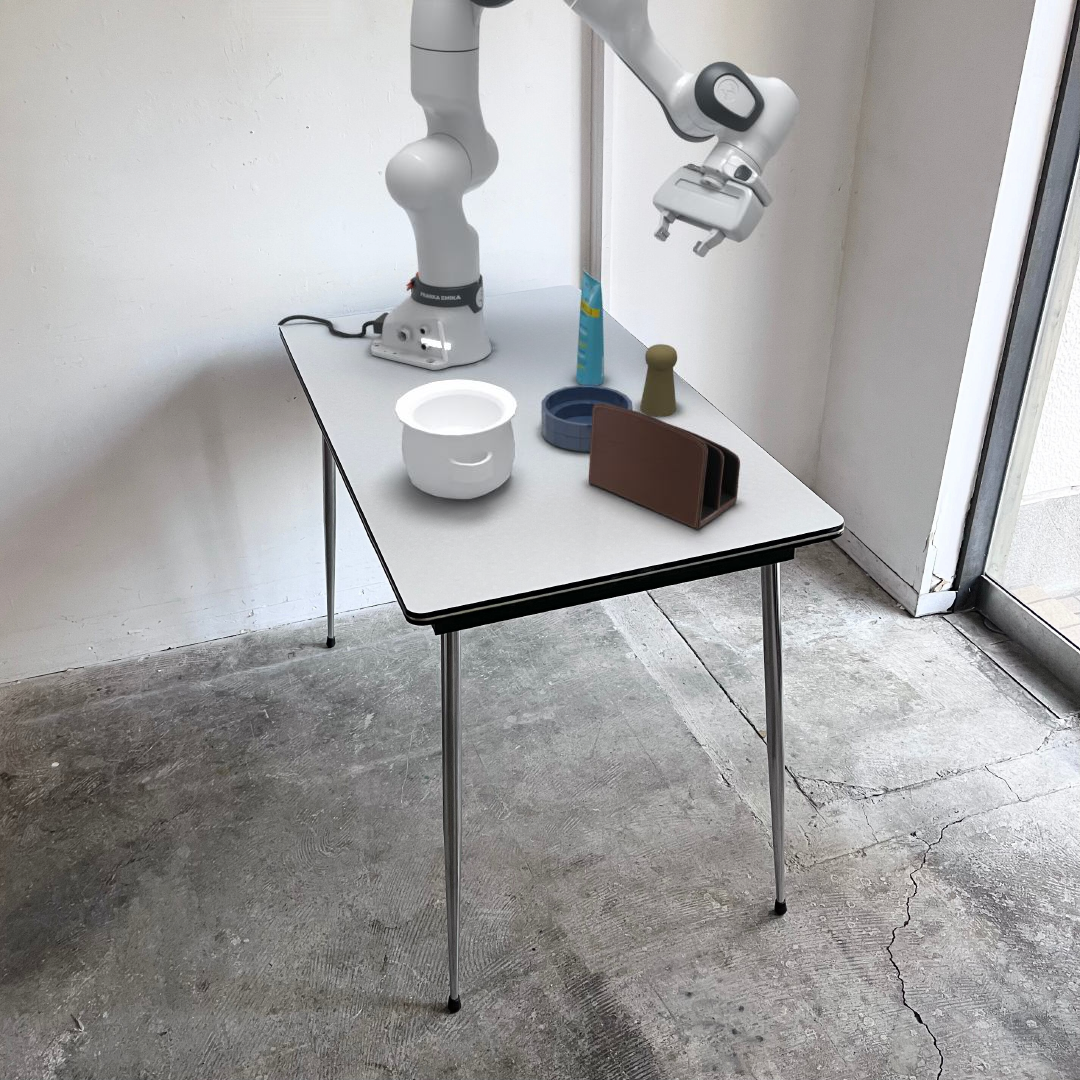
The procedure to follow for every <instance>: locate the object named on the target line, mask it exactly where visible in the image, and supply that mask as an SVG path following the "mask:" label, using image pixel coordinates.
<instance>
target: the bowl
mask: <svg viewBox="0 0 1080 1080" xmlns="http://www.w3.org/2000/svg"><path fill="white" fill-rule="evenodd" d="M597 403H603V404H608V405H613V406H617V407H622V408H625V409H629V410H633V401H632V400H631V398H630V397H628V395H627V394H625V393H623V392H621V391H619V390H618V389H614V388H611V387H607V386H603V385H596V386H595V385H581V384H578V385H570V386H564V387H561V388H558V389H554V390H553V391H551V392H549V393H548V394H545V396H544V397H543V399H541V406H540V407H541V415H540V416H541V434H542V436H543V437H544V439H545V440H546V441H547V442H549V443H550V444H552V445H554V446H555V447H556V446H557V447H560V448H563V449H565V450H568V451H569V450H570V451H577V452H590V443H591V430H592V409H593V406H594V405H595V404H597ZM633 411H634V410H633Z"/></svg>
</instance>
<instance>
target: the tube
mask: <svg viewBox="0 0 1080 1080" xmlns="http://www.w3.org/2000/svg"><path fill="white" fill-rule="evenodd" d="M582 271H583V274H582V284H581V293H580V305H579V320H578V321H579V323H578V336H577V337H578V338H577V355H576V356H577V357H576V359H577V360H576V378H575V379H576V383H578V384H579V385H595V386H600V385H602V384H603V383H604V381H605V348H604V346H605V345H604V343H605V341H604V340H605V339H604V304H603V303H604V302H603V290H602V282H601V281H600V280H598V279H597V278H596V277H595V278H594V277H593V276H592V275H590V274H589V273H588V272H587V271H586V270H585V269H584V268H582Z"/></svg>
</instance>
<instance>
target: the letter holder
mask: <svg viewBox="0 0 1080 1080" xmlns="http://www.w3.org/2000/svg"><path fill="white" fill-rule="evenodd" d="M588 465H589V467H588V483H589V484H590V485H593V486H596V487H598V488H600V489H602V490H605V491H608V492H609V493H612V494H615V495H617V496H619V497H622V498H624V499H626V500H628V501H631V502H633V503H636V504H638V505H640V506H642V507H644V508H647V509H648V510H651V511H654V512H656V513H657V514H660V515H662V516H665V517H667V518H669V519H671V520H674V521H676V522H679V523H681V524H683V525H685V526H688V527H690V528H693V529H694V530H696V531H699V530H700V529H701V528H702V527H703V526H705V525H706V524H708V523H709V522H710V521H712V520H713V519H715V518H716V517H718V516H719V515H720V514H722V513H723V512H724V511H726V510H727V509H729V508H730V507H732V506H733V505H735V504H736V503H737V500H738V492H739V478H740V471H741V470H740V469H741V458H740V457H739V455H738V454H736V453H735V452H734V451H732V450H730V449H729V448H727V447H725V446H724V445H721V444H719V443H717V442H715V441H712V440H711V439H708V438H707V437H704V436H701V435H699V434H697V433H695V432H692V431H689V430H687V429H685V428H682V427H679V426H677V425H673V424H670V423H669V422H665V421H663V420H661V419H659V418H656V417H655V416H650V415H647V414H645V413H643V412H639V411H636V410H629V409H625V408H622V407H617V406H613V405H608V404H603V403H597V404H595V405H594V406H593V409H592V430H591V443H590V451H589V464H588Z"/></svg>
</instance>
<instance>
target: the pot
mask: <svg viewBox="0 0 1080 1080" xmlns="http://www.w3.org/2000/svg"><path fill="white" fill-rule="evenodd" d="M517 404H518V403H517V400H516V398H515V396H513V395H512V394H511V392H509V391H508V390H506V389H505V388H503V387H501V386H499V385H495V384H492V383H489V382H486V381H479V380H472V379H456V378H455V379H446V380H445V379H444V380H438V381H432V382H429V383H425V384H423V385H420V386H418V387H415V388H413V389H411V390H409V391H407V392H406V393H404V394H403V395H402V396H401V397H400V398H398V399H397V401H396V405H395V408H394V413H395V414H396V416H397V419H398V421H399V422H400V423H402V424H403V425H402V434H401V455H402V461H403V463H404V467H405V470H406V472H407V474H408V476H409V478H410V481H411V484H412V485H414V486H415V487H416V488H418V489H419V490H420V491H422V492H423V493H426V494H429V495H432V496H435V497H436V498H444V499H453V500H473V499H476V498H479V497H481V496H484V495H487V494H489V493H491V492H493V491H494V490H496V489H498V488H499V487H501V486H502V485H503V484H504V483H506V481H507V480H508V479H509V478H510V475H511V472H512V469H513V465H514V461H515V457H516V442H515V436H514V429H513V424H512V420H513V418H514V417H515V416H516V412H517V409H518V406H517Z"/></svg>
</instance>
